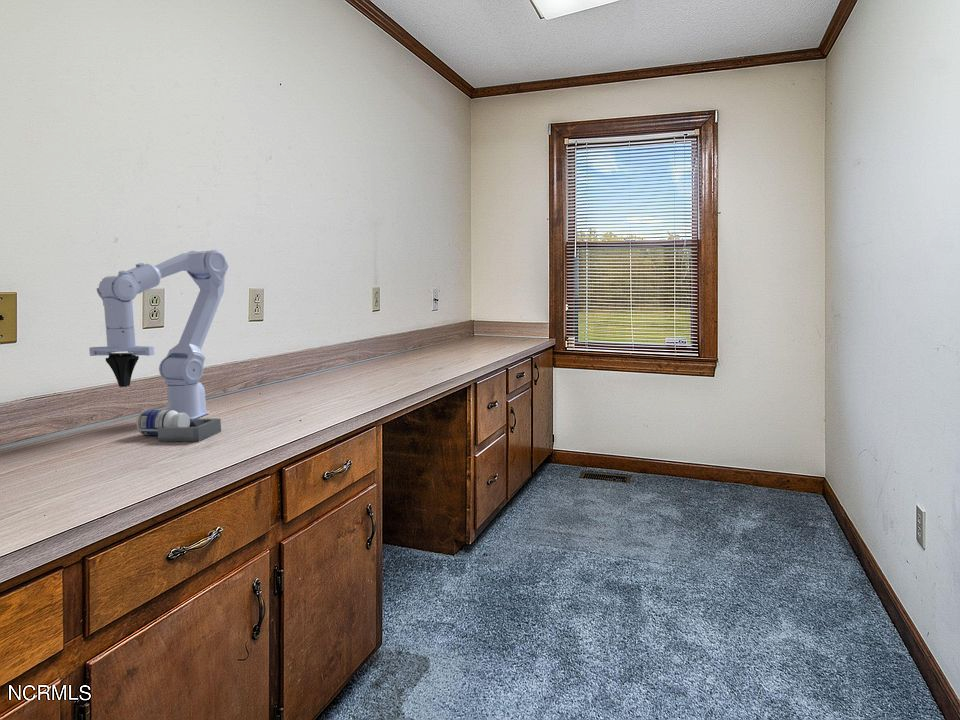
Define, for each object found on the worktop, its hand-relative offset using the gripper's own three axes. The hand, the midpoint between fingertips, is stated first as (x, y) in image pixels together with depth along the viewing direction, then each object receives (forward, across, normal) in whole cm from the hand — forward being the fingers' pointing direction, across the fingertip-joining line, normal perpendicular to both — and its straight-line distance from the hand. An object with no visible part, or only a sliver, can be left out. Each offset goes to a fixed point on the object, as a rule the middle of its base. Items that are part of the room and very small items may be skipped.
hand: (124, 386), depth 150 cm
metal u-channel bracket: (+10, +18, -6) cm, 22 cm away
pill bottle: (+8, +7, -4) cm, 11 cm away
